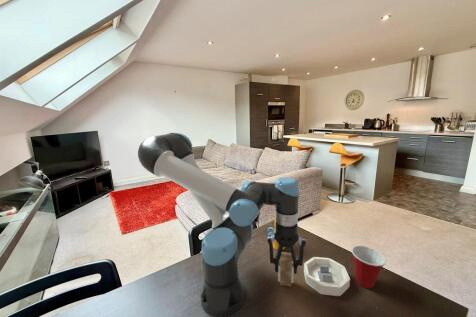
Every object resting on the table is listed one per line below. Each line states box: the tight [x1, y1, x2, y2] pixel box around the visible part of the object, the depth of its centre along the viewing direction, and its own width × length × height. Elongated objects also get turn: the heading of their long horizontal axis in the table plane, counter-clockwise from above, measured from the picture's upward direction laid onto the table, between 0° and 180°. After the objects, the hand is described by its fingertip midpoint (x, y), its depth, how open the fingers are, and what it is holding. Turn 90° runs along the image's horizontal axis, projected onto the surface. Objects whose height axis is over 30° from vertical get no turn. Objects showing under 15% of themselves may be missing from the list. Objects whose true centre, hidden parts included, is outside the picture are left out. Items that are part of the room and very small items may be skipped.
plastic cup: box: [351, 244, 387, 289], centre depth 77 cm, size 11×11×12 cm
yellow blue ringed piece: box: [267, 215, 286, 251], centre depth 100 cm, size 12×10×15 cm
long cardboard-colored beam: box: [279, 251, 293, 287], centre depth 78 cm, size 4×2×12 cm, turn 81°
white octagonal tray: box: [303, 256, 351, 297], centre depth 81 cm, size 15×15×4 cm
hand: (285, 279), depth 79 cm, fingers closed on long cardboard-colored beam, 4 cm apart
